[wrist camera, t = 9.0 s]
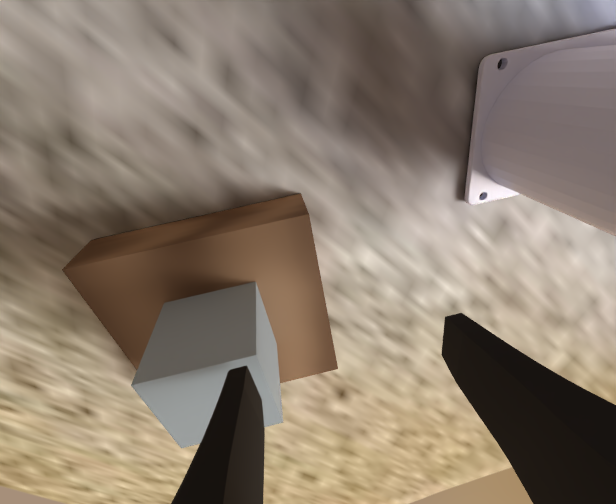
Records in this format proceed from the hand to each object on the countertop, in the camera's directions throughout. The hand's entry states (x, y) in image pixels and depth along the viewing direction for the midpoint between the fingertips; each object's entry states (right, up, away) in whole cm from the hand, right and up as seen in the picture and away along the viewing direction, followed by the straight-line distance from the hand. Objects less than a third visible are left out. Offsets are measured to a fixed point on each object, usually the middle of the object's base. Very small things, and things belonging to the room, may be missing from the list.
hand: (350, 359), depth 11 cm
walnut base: (-7, +1, +9) cm, 12 cm away
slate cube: (-6, 0, +7) cm, 9 cm away
